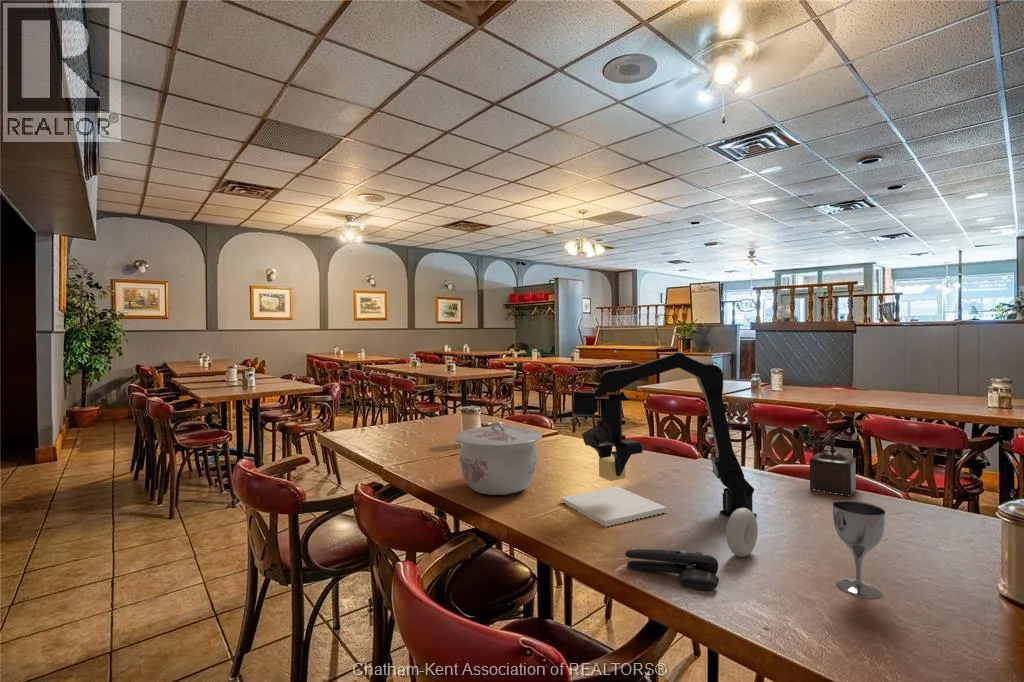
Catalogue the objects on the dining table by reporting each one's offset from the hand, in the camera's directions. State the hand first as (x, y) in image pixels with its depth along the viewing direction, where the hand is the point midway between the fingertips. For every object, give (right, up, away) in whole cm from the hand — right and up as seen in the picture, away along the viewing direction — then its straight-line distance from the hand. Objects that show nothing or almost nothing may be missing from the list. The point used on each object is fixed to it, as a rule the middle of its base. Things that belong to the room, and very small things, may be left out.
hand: (612, 473), depth 132 cm
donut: (+22, -10, -29) cm, 38 cm away
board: (0, -9, 0) cm, 9 cm away
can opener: (+4, -10, -38) cm, 39 cm away
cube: (0, -1, 0) cm, 1 cm away
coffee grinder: (+67, -9, +15) cm, 70 cm away
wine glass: (+36, -10, -43) cm, 57 cm away
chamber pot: (-31, -10, +18) cm, 37 cm away
